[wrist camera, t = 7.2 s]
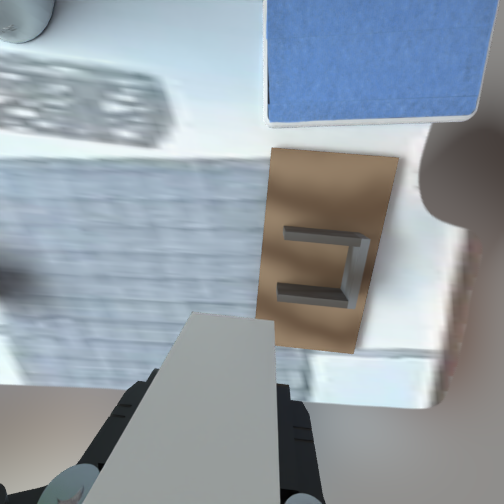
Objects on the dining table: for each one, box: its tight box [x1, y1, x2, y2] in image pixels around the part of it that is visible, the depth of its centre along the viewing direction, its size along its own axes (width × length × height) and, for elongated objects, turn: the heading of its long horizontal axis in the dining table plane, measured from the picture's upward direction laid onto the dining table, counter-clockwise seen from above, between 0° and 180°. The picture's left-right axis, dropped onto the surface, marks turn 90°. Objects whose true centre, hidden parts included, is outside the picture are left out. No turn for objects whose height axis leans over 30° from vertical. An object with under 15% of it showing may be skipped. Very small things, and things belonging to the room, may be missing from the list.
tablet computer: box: [263, 0, 500, 128], centre depth 22 cm, size 19×13×1 cm, turn 91°
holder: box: [255, 148, 399, 354], centre depth 26 cm, size 22×12×4 cm, turn 175°
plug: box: [82, 312, 280, 504], centre depth 8 cm, size 4×4×10 cm
